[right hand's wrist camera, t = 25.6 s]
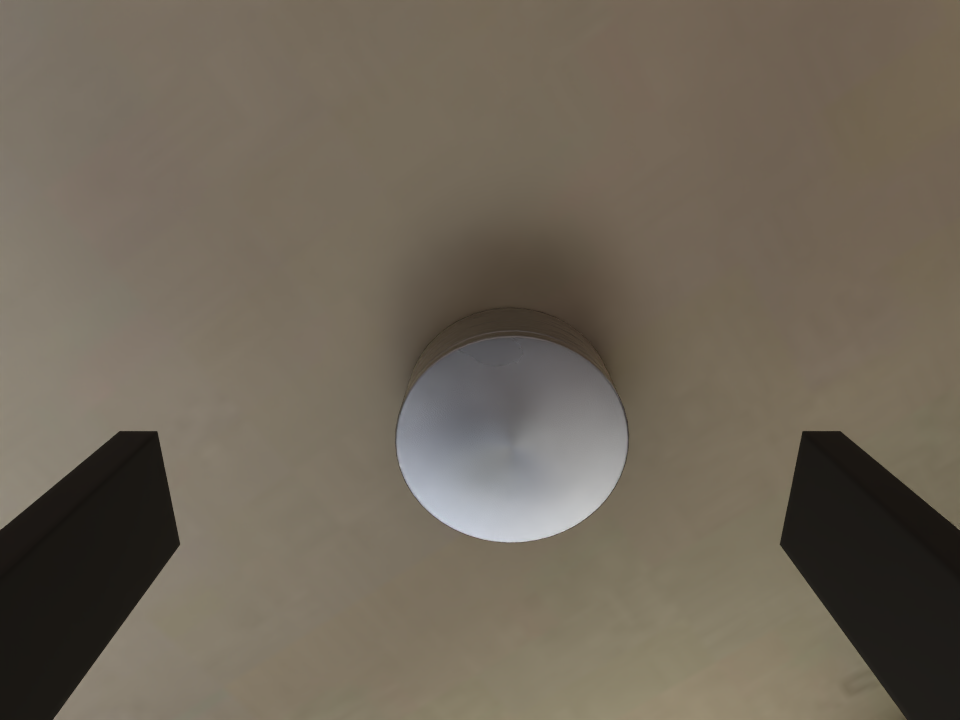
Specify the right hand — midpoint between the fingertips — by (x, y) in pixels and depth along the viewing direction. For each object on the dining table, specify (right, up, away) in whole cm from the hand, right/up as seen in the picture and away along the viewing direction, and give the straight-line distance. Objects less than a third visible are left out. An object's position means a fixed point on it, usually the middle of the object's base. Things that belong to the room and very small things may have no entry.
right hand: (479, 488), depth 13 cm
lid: (+1, +1, +1) cm, 2 cm away
